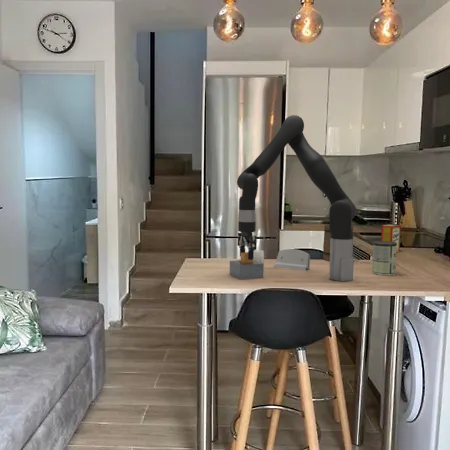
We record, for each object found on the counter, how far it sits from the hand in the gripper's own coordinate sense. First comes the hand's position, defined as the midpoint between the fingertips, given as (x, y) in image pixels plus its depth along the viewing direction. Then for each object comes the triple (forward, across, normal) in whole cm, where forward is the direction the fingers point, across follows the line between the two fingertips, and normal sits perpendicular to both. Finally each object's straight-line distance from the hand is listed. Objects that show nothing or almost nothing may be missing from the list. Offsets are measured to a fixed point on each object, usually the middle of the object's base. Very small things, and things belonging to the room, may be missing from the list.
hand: (246, 258), depth 204 cm
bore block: (+8, 0, 0) cm, 8 cm away
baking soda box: (+8, +36, -109) cm, 115 cm away
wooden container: (+8, +23, -63) cm, 68 cm away
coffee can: (+8, -15, -61) cm, 63 cm away
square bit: (+8, 0, 0) cm, 8 cm away
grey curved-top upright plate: (+8, +10, -29) cm, 32 cm away
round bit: (+8, +10, -10) cm, 16 cm away
